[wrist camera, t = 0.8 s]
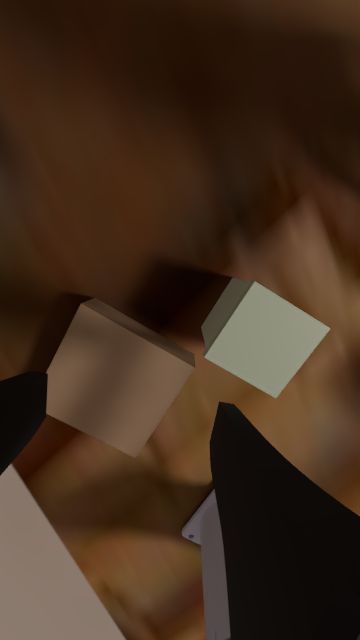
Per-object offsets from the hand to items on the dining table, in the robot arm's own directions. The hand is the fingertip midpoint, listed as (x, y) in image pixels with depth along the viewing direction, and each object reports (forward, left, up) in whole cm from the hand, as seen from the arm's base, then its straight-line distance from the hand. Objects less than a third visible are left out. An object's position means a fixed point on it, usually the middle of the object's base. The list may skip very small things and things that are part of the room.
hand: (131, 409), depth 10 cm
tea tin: (-5, -5, -10) cm, 12 cm away
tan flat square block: (+1, +4, -10) cm, 11 cm away
